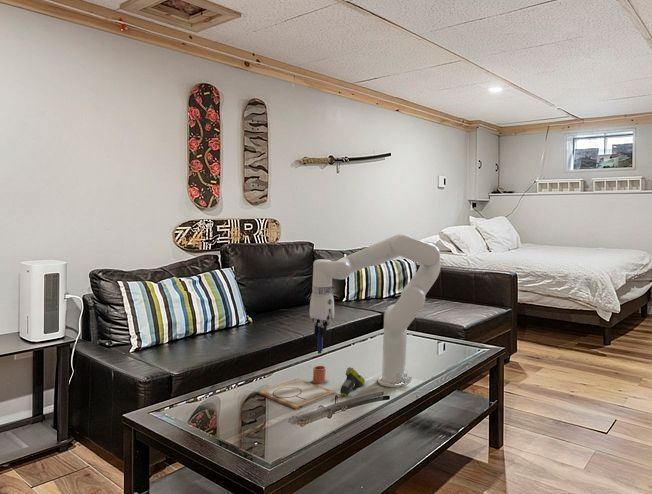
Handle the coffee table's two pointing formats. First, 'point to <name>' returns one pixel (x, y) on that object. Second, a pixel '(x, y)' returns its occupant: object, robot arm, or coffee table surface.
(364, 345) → the coffee table surface
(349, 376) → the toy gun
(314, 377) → the pen pot
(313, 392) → the drawing board
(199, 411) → the coffee table surface
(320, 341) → the pen
